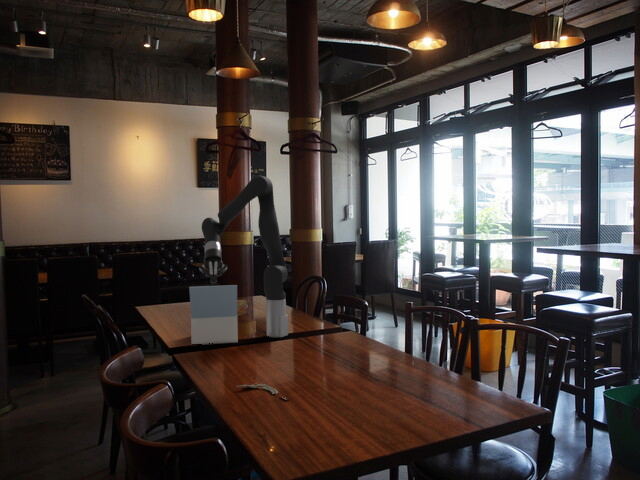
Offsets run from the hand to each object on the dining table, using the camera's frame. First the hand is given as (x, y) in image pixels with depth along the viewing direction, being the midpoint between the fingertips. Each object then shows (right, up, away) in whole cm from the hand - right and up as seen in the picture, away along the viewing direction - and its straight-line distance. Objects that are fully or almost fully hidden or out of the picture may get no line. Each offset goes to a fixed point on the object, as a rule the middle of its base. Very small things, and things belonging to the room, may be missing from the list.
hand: (213, 283), depth 219 cm
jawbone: (+28, -30, -61) cm, 74 cm away
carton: (-2, -27, +11) cm, 29 cm away
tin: (0, -24, +67) cm, 71 cm away
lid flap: (+1, -8, -4) cm, 8 cm away
